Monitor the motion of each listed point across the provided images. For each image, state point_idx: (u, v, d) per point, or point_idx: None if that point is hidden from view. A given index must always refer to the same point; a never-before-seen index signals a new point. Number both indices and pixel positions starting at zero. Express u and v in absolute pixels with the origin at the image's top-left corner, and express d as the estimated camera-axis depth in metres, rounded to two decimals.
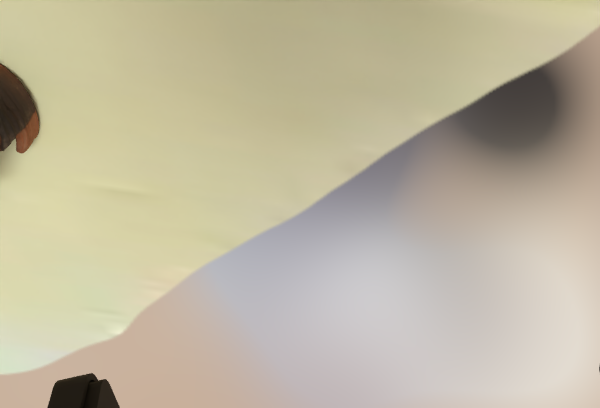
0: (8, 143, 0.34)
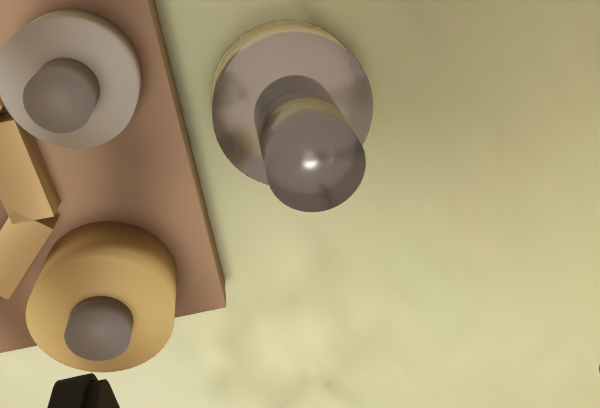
0: None
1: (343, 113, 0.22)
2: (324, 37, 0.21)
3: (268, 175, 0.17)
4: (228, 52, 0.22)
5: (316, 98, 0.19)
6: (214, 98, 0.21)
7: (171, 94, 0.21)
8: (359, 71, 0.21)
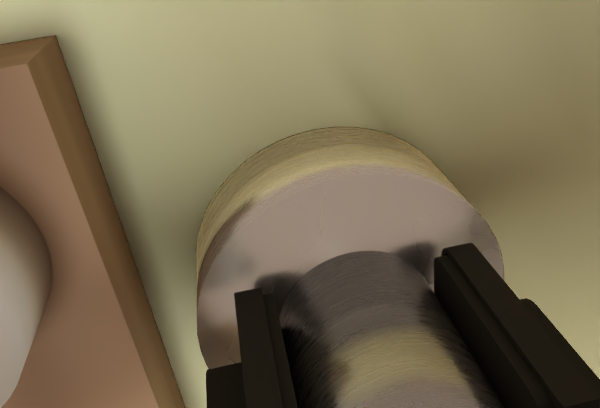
0: None
1: None
2: (425, 181, 0.10)
3: None
4: (227, 193, 0.11)
5: (433, 353, 0.08)
6: (200, 298, 0.11)
7: (114, 291, 0.11)
8: (485, 237, 0.11)
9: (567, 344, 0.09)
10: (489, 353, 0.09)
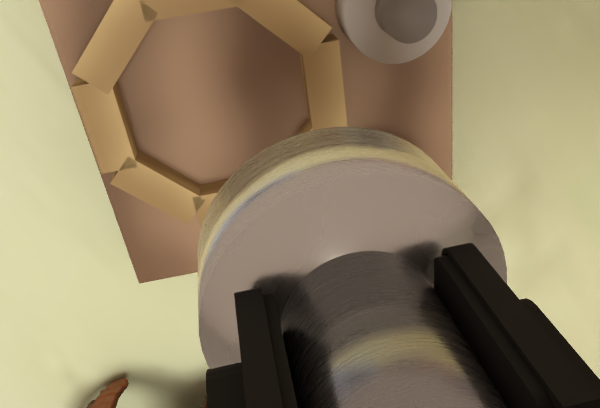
0: None
1: None
2: (428, 181, 0.10)
3: None
4: (229, 193, 0.11)
5: (437, 354, 0.08)
6: (202, 298, 0.10)
7: (451, 23, 0.25)
8: (488, 238, 0.11)
9: (567, 344, 0.09)
10: (489, 353, 0.09)
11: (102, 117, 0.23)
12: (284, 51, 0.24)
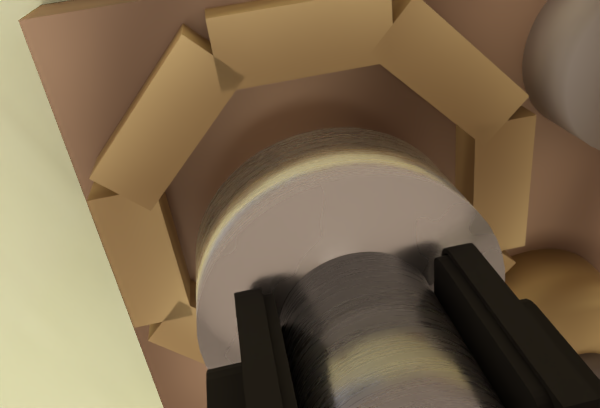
0: None
1: None
2: (426, 181, 0.10)
3: None
4: (226, 193, 0.11)
5: (434, 355, 0.08)
6: (200, 299, 0.10)
7: None
8: (486, 238, 0.11)
9: (567, 344, 0.09)
10: (489, 353, 0.09)
11: (139, 245, 0.14)
12: (432, 127, 0.15)
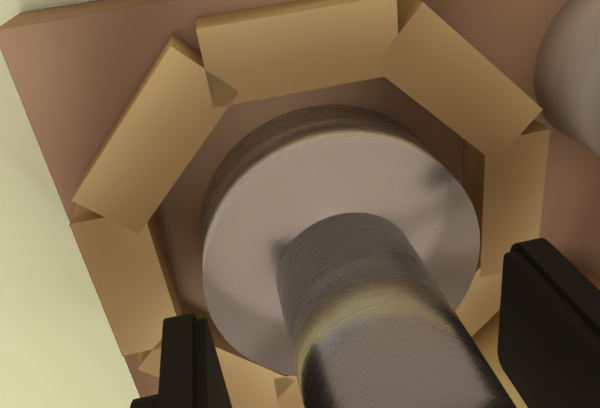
0: None
1: (429, 266, 0.13)
2: (406, 148, 0.11)
3: None
4: (230, 163, 0.13)
5: (410, 292, 0.09)
6: (206, 255, 0.12)
7: None
8: (461, 202, 0.12)
9: None
10: (575, 349, 0.08)
11: (127, 270, 0.13)
12: (438, 141, 0.14)
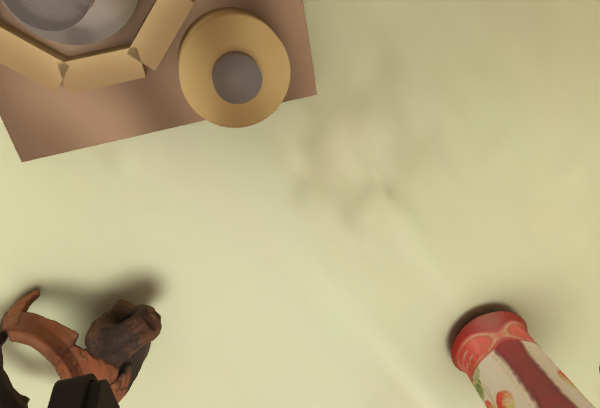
0: None
1: None
2: None
3: None
4: None
5: None
6: None
7: None
8: None
9: None
10: None
11: None
12: None
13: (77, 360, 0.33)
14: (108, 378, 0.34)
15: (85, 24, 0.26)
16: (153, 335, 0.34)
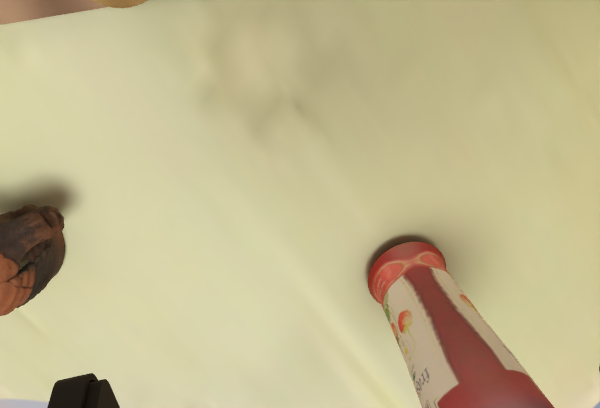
0: (24, 304, 0.39)
1: None
2: None
3: None
4: None
5: None
6: None
7: None
8: None
9: None
10: None
11: None
12: None
13: None
14: (6, 272, 0.35)
15: None
16: (51, 231, 0.35)
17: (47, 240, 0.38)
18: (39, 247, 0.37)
